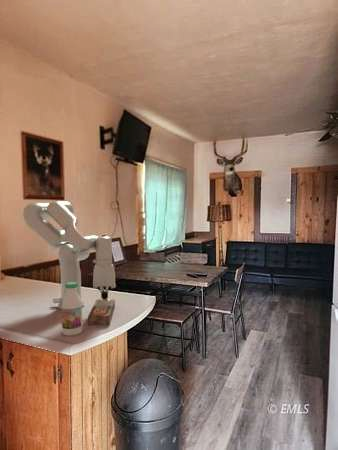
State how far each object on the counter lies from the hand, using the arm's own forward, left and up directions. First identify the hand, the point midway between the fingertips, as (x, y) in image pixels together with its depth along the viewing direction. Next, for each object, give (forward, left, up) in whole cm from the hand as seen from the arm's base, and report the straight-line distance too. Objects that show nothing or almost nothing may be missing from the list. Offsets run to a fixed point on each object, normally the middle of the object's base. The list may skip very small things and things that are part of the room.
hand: (104, 299), depth 151 cm
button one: (0, 0, -5) cm, 5 cm away
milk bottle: (-10, -26, -6) cm, 28 cm away
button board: (0, -7, -5) cm, 9 cm away
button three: (0, -15, -5) cm, 16 cm away
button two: (0, -7, -3) cm, 8 cm away
